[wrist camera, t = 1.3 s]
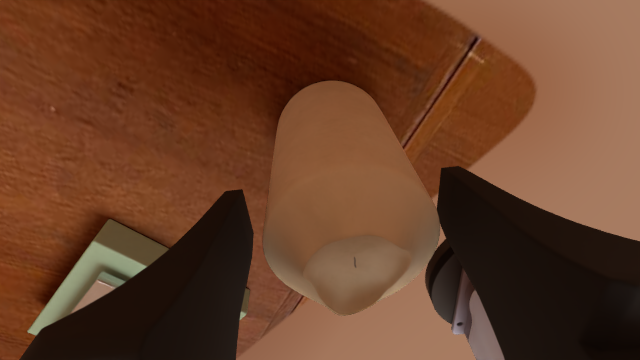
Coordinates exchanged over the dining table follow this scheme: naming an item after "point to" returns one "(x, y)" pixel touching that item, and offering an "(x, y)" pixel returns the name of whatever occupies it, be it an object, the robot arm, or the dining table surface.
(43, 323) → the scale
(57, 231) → the dining table surface
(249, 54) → the dining table surface
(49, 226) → the dining table surface
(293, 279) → the candle
